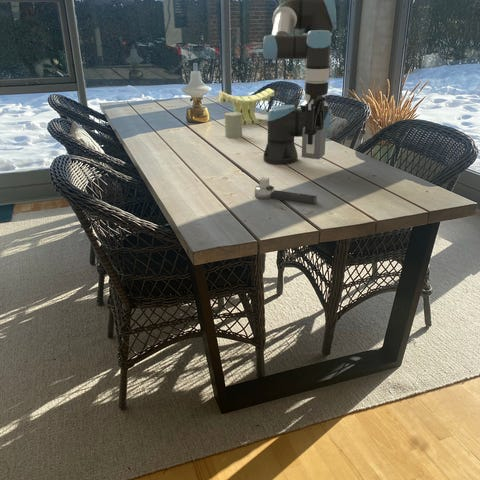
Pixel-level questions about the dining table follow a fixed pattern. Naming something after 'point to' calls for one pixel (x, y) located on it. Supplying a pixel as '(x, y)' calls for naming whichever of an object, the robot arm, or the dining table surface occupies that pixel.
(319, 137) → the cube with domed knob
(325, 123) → the robot arm
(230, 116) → the can
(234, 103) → the slatted curved stool
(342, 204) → the dining table surface
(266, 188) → the ratchet
